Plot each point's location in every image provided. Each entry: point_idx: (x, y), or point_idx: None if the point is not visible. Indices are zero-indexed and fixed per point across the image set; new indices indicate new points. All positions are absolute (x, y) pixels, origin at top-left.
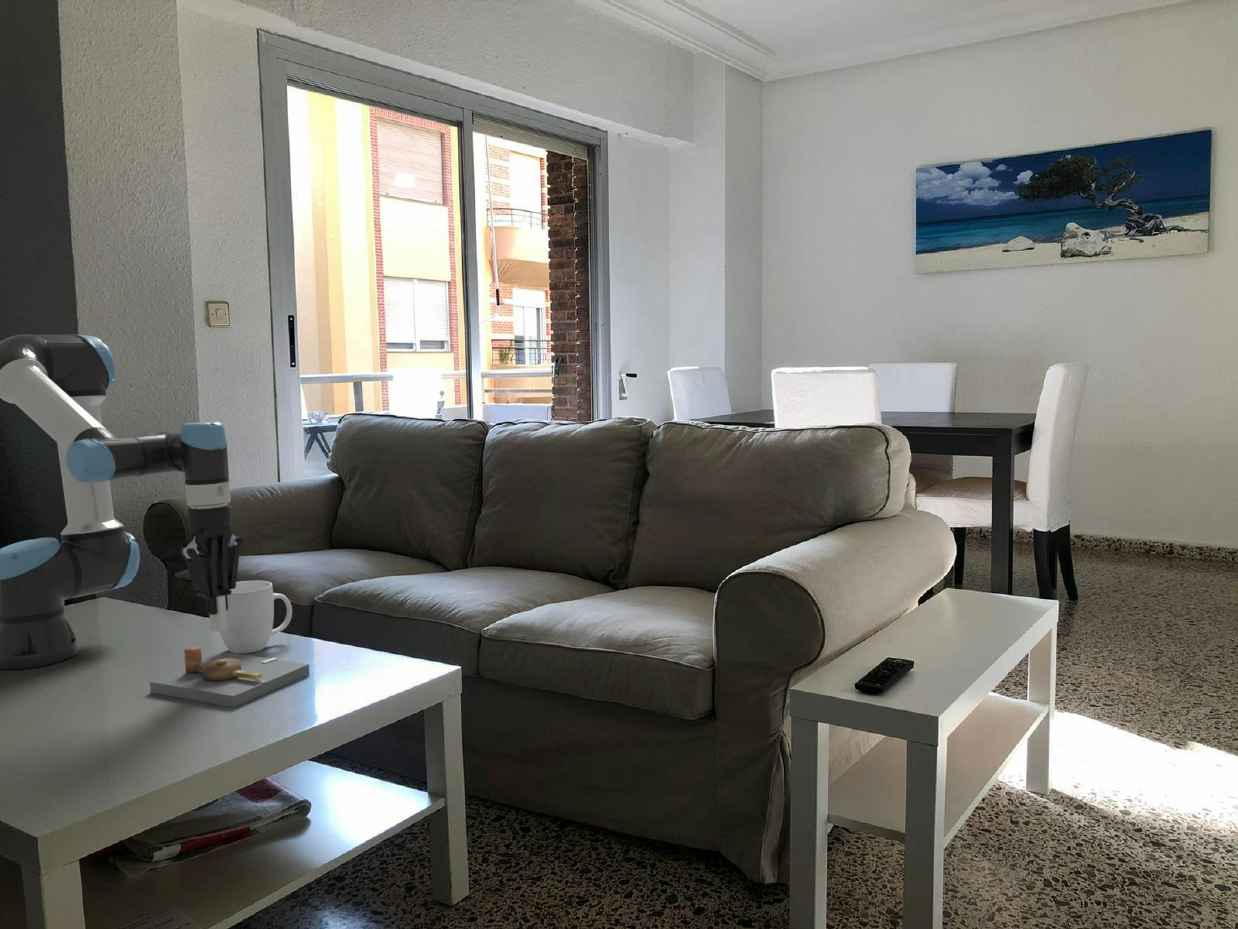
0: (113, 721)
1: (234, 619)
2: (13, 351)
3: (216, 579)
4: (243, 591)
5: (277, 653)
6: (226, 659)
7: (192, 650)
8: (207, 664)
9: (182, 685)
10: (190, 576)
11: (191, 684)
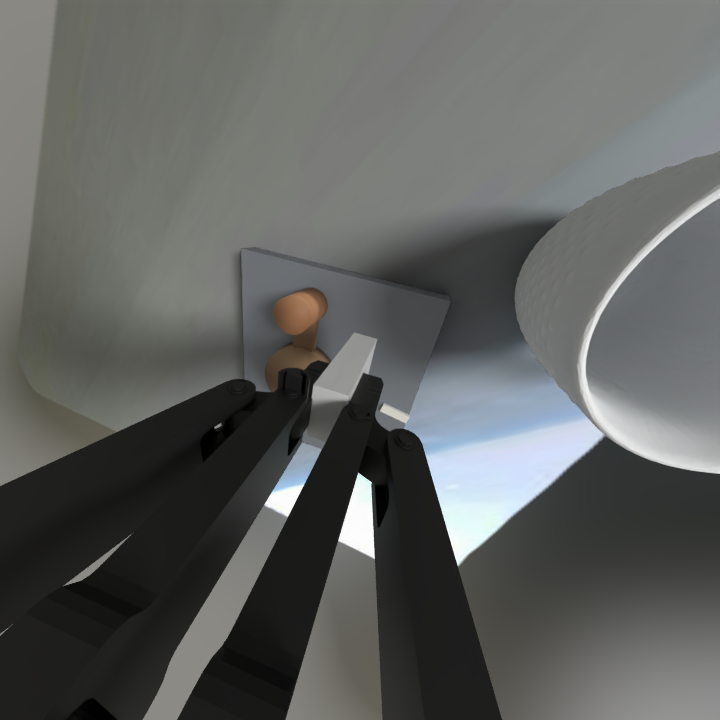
0: (155, 280)
1: (526, 315)
2: None
3: (262, 502)
4: None
5: (522, 367)
6: None
7: (280, 324)
8: (284, 358)
9: (249, 328)
10: (102, 441)
11: (258, 340)
